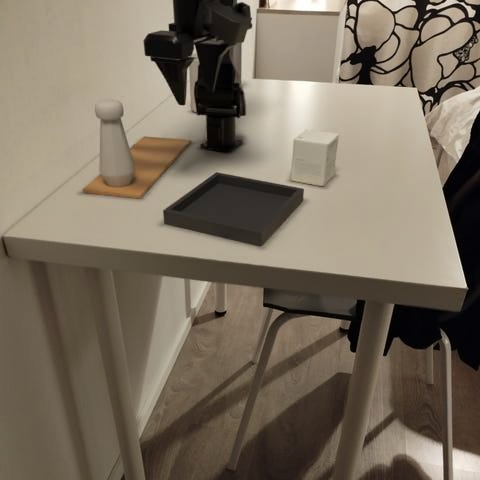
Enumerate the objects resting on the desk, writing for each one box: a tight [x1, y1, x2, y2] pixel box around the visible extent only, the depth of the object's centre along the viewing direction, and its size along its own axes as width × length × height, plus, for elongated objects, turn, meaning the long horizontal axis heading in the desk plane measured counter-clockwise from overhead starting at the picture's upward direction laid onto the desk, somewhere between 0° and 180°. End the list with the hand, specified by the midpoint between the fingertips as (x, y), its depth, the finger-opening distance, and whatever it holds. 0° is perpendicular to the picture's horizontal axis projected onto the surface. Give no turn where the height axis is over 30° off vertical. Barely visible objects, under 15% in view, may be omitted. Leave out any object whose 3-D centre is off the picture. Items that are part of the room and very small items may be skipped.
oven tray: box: [162, 171, 305, 247], centre depth 79 cm, size 17×16×2 cm
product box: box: [290, 129, 340, 187], centre depth 88 cm, size 6×6×7 cm
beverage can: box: [188, 52, 199, 114], centre depth 119 cm, size 5×5×12 cm
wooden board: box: [82, 135, 191, 199], centre depth 95 cm, size 28×10×1 cm, turn 168°
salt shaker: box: [94, 98, 135, 187], centre depth 83 cm, size 6×6×13 cm
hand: (196, 98), depth 83 cm, fingers open, 9 cm apart
